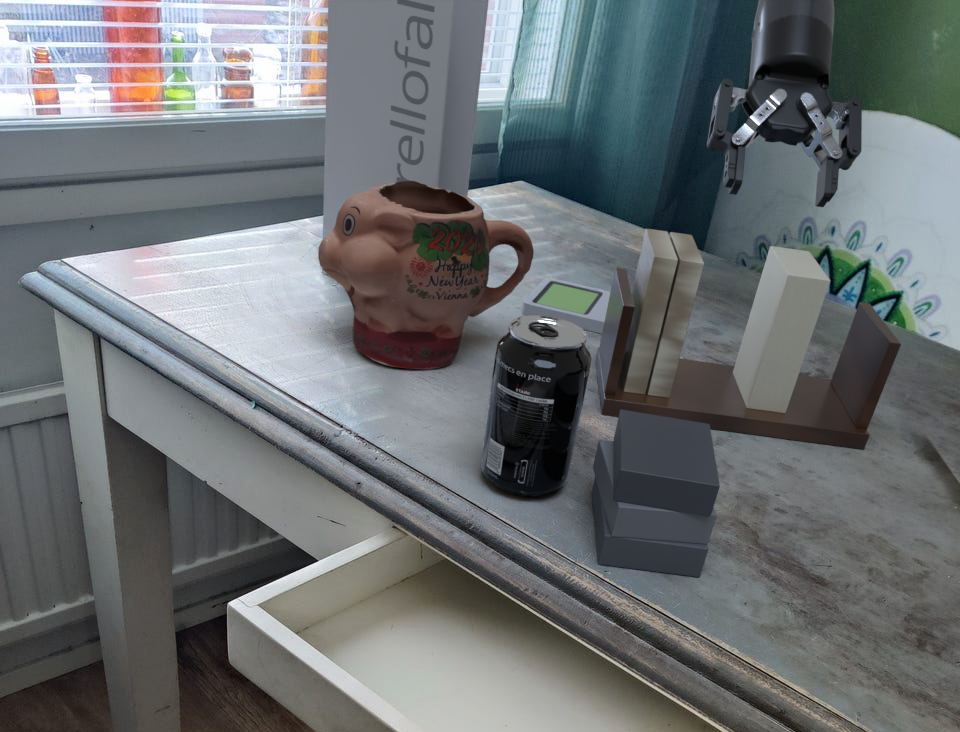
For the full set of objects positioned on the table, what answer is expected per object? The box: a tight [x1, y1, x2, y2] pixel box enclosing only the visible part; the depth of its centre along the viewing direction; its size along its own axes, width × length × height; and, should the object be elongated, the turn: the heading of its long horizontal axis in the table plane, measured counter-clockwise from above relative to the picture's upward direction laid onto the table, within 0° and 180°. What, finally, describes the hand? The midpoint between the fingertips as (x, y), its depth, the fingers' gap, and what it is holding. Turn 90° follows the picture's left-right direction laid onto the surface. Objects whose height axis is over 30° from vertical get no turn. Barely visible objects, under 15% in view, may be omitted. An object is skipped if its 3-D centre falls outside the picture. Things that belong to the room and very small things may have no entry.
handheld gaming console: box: [521, 277, 611, 335], centre depth 107 cm, size 10×2×15 cm
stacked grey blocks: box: [591, 410, 721, 578], centre depth 70 cm, size 8×10×7 cm
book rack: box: [594, 228, 902, 450], centre depth 89 cm, size 24×12×14 cm, turn 87°
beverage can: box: [480, 315, 592, 497], centre depth 73 cm, size 7×7×12 cm
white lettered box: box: [321, 0, 490, 276], centre depth 97 cm, size 14×6×30 cm, turn 55°
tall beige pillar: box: [733, 245, 831, 413], centre depth 89 cm, size 4×8×12 cm, turn 178°
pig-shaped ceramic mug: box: [317, 181, 535, 370], centre depth 90 cm, size 20×12×14 cm, turn 114°
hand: (779, 196), depth 94 cm, fingers open, 8 cm apart
